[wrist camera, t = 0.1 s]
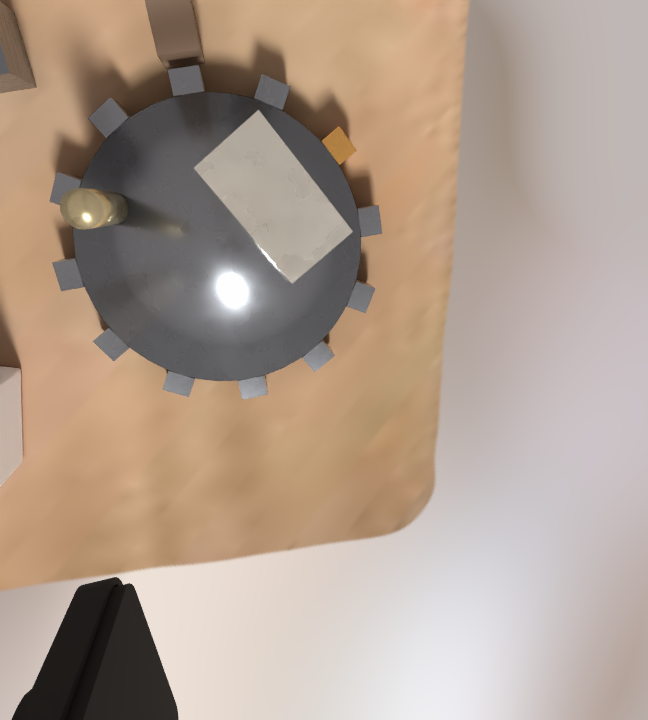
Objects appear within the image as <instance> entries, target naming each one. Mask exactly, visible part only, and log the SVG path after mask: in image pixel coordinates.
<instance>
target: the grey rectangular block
mask: <svg viewBox="0 0 648 720" xmlns="http://www.w3.org/2000/svg"><path fill="white" fill-rule="evenodd" d="M30 88H37V87H36V84H35V80H34V77H33V74H32V71H31V67H30V64H29V61H28V57H27V54H26V51H25V47H24V44H23V41H22V38H21V34H20V31H19V28H18V24H17V21H16V18H15V14H14V12H13V11H12V10H11V9H9V8H8V7H7V6H6V5H4V4H3V3H2V2H1V1H0V93H4V92H11V91H17V90H24V89H30Z"/></svg>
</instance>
